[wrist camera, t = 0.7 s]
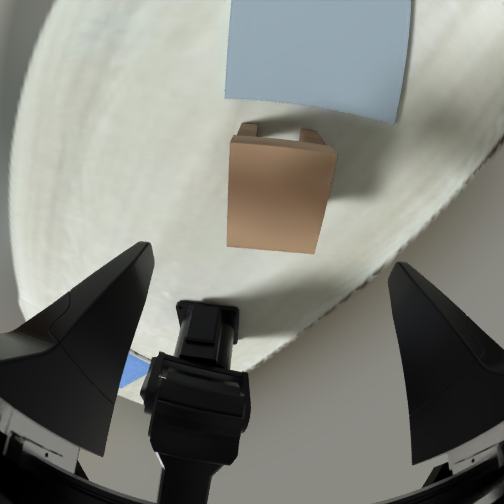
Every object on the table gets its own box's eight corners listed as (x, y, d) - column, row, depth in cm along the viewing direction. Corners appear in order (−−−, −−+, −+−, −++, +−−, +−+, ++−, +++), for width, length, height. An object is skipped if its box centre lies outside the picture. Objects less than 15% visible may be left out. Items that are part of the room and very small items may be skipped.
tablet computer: (90, 322, 33) (87, 329, 32) (163, 362, 38) (161, 369, 37) (71, 356, 42) (69, 361, 41) (123, 384, 47) (122, 389, 46)
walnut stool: (304, 206, 20) (314, 254, 16) (236, 200, 20) (226, 246, 15) (317, 128, 16) (337, 154, 12) (240, 120, 16) (230, 142, 12)
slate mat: (390, 122, 15) (394, 124, 15) (226, 97, 15) (224, 98, 15) (407, -14, 8) (411, -15, 8) (237, -48, 8) (237, -52, 8)
